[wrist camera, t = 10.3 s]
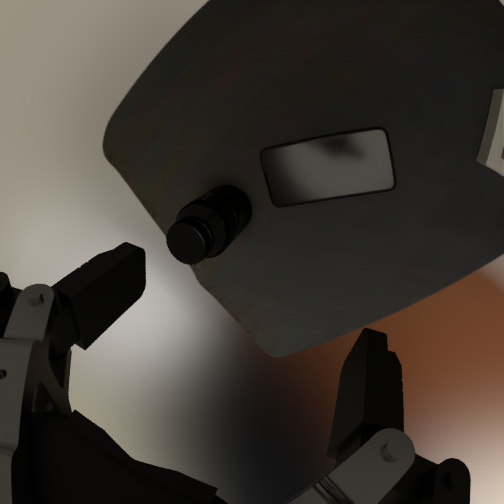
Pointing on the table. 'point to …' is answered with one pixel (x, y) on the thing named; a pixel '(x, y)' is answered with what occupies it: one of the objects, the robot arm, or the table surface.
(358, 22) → the table surface
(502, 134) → the socket plate
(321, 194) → the smartphone
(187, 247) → the supplement bottle
